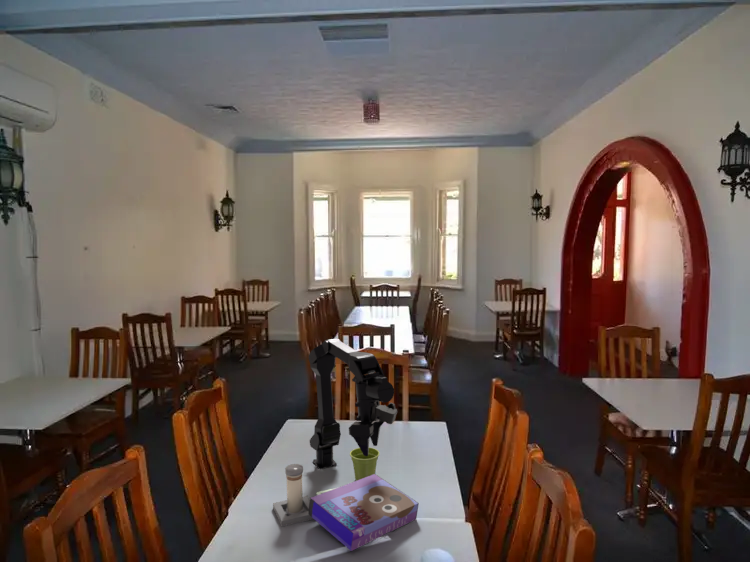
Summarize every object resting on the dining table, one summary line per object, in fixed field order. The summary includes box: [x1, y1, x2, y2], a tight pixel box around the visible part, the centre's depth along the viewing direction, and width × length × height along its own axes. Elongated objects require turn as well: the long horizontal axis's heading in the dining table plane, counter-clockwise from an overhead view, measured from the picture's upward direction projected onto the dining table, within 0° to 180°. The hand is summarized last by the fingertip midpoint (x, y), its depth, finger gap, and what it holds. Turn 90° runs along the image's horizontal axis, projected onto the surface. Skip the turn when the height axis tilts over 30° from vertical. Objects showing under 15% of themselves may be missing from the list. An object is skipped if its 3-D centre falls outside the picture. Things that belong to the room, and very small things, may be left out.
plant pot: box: [349, 446, 380, 481], centre depth 167 cm, size 9×9×9 cm
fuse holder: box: [272, 495, 314, 527], centre depth 146 cm, size 10×10×2 cm
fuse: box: [284, 463, 304, 516], centre depth 145 cm, size 5×5×13 cm
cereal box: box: [309, 473, 419, 552], centre depth 142 cm, size 17×5×24 cm
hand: (370, 450), depth 155 cm, fingers open, 9 cm apart
